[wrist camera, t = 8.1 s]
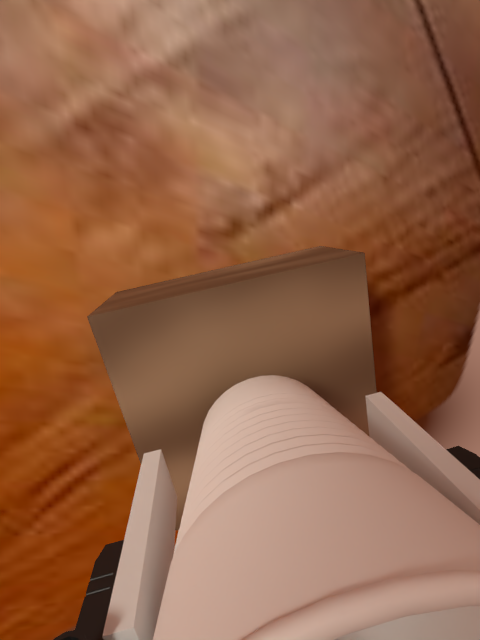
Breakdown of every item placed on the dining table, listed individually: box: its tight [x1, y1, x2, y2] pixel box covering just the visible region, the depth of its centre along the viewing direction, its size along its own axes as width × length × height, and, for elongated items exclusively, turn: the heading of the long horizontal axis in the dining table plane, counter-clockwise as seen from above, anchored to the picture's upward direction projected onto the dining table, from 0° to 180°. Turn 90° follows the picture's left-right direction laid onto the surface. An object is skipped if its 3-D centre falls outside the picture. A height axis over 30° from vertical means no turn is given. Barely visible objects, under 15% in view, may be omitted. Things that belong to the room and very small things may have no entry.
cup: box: [153, 375, 480, 640], centre depth 11 cm, size 10×10×11 cm
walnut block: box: [87, 246, 377, 530], centre depth 21 cm, size 14×14×6 cm
